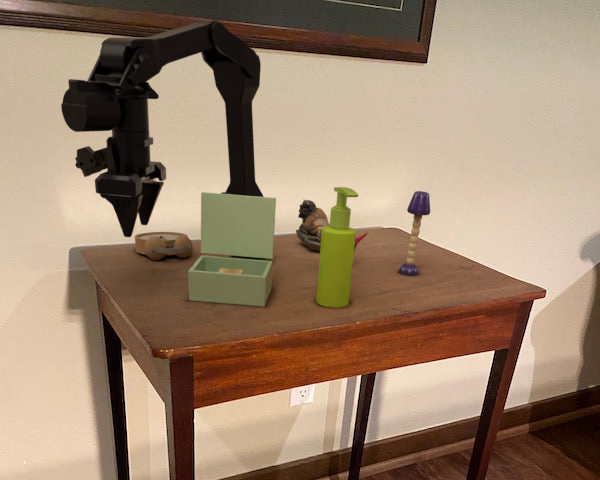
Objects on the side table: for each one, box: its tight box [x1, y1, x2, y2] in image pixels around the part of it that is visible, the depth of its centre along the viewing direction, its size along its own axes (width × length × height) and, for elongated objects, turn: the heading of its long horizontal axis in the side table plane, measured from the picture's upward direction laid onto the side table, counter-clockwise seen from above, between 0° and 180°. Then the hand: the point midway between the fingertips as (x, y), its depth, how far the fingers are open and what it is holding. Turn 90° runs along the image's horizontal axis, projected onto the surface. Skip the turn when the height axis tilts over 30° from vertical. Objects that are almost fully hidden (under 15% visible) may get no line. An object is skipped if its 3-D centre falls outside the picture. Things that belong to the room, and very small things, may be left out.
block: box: [219, 268, 243, 274], centre depth 109 cm, size 4×4×4 cm
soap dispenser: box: [315, 186, 359, 309], centre depth 107 cm, size 6×7×20 cm
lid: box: [200, 191, 277, 260], centre depth 112 cm, size 11×13×1 cm
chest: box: [187, 254, 274, 308], centre depth 111 cm, size 10×13×5 cm
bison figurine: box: [295, 199, 330, 252], centre depth 143 cm, size 12×7×10 cm, turn 27°
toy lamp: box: [398, 190, 431, 276], centre depth 128 cm, size 5×5×17 cm
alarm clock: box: [134, 231, 193, 261], centre depth 132 cm, size 11×5×15 cm
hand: (136, 230), depth 104 cm, fingers open, 9 cm apart
